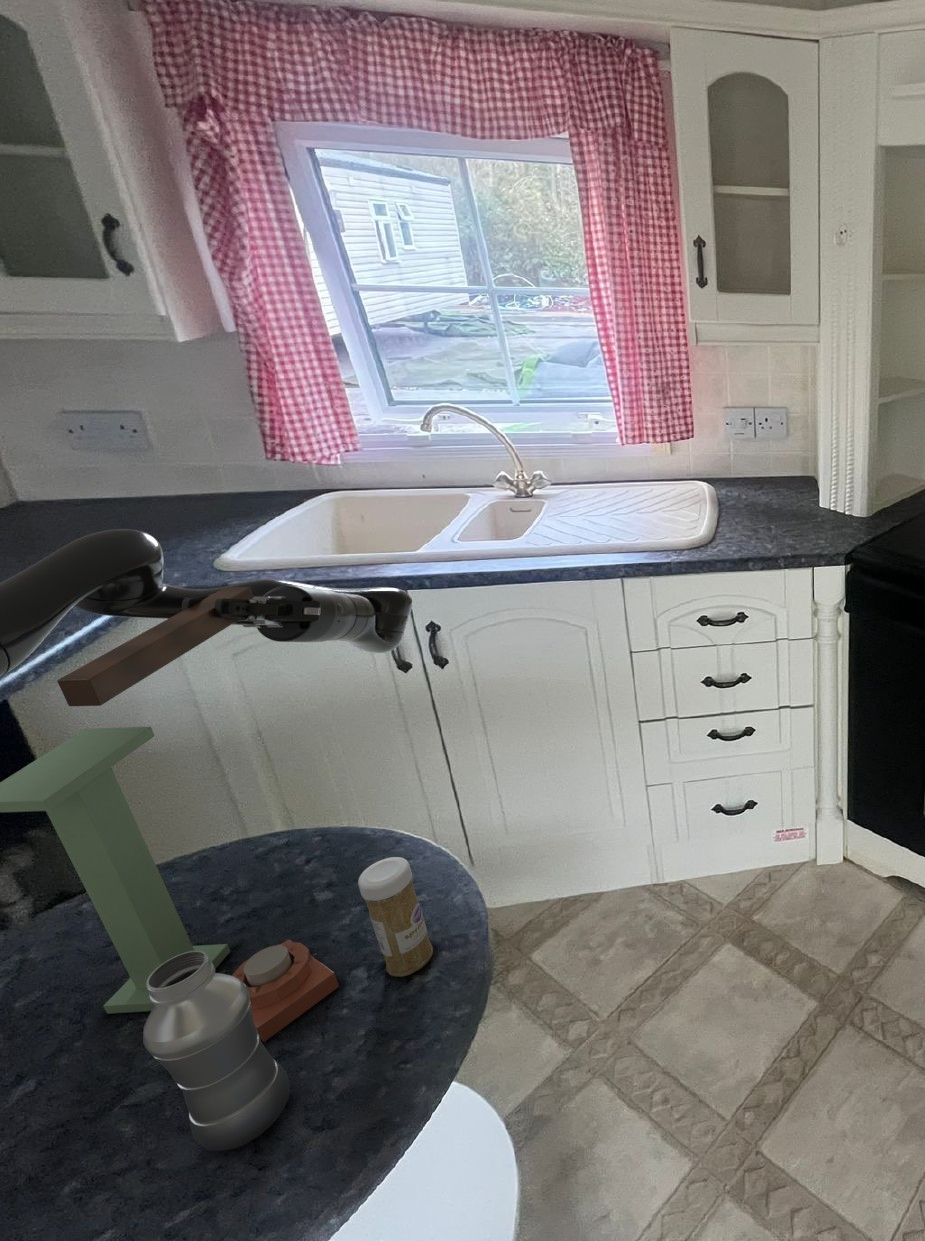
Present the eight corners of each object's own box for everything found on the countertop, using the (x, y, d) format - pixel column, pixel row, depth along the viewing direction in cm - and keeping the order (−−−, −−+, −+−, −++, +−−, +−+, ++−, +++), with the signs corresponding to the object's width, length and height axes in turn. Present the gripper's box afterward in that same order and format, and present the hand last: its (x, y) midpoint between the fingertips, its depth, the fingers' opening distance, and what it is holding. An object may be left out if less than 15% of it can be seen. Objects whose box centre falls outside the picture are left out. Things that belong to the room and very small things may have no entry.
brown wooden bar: (232, 609, 91) (225, 587, 90) (257, 608, 91) (250, 586, 90) (68, 706, 71) (56, 680, 70) (100, 706, 72) (88, 679, 71)
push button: (240, 977, 78) (235, 966, 77) (280, 951, 81) (276, 939, 80) (259, 992, 76) (254, 980, 76) (299, 965, 79) (294, 953, 79)
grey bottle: (309, 1108, 70) (245, 957, 62) (217, 1179, 64) (136, 1022, 57) (278, 1071, 73) (214, 922, 65) (188, 1136, 67) (106, 981, 60)
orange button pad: (218, 1003, 79) (206, 977, 77) (294, 952, 85) (284, 927, 83) (264, 1042, 75) (252, 1015, 74) (339, 986, 81) (330, 960, 80)
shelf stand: (178, 939, 86) (80, 728, 75) (244, 936, 86) (156, 726, 75) (88, 1032, 75) (-40, 803, 64) (164, 1027, 76) (50, 800, 65)
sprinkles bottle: (431, 969, 83) (405, 879, 78) (383, 984, 82) (353, 893, 76) (435, 937, 87) (411, 850, 82) (389, 951, 85) (361, 862, 80)
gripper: (360, 641, 102) (264, 639, 85) (249, 642, 100) (129, 641, 83) (365, 587, 103) (270, 574, 86) (255, 588, 101) (137, 575, 84)
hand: (201, 607), depth 85 cm, fingers closed on brown wooden bar, 3 cm apart
